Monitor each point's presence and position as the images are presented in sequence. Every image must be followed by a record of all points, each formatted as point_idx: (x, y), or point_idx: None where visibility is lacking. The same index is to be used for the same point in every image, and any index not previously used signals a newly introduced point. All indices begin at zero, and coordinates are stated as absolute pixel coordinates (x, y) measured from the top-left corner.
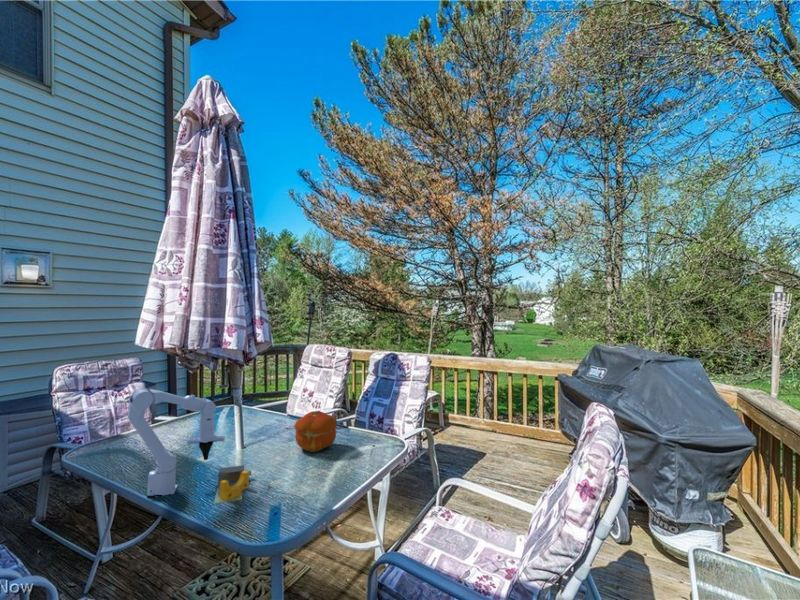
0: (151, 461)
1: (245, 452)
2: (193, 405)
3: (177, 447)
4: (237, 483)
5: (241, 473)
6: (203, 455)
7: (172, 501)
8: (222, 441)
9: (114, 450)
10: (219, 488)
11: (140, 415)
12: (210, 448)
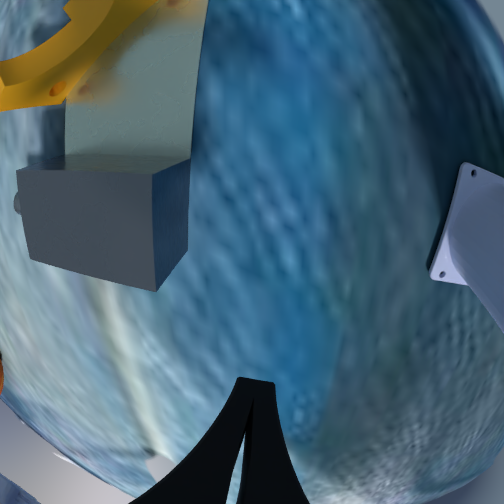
0: (413, 463)
1: (134, 429)
2: None
3: (332, 496)
4: (64, 48)
5: (9, 81)
6: (276, 427)
7: (461, 67)
8: (4, 477)
9: (438, 488)
10: (180, 102)
11: None
12: (155, 485)
